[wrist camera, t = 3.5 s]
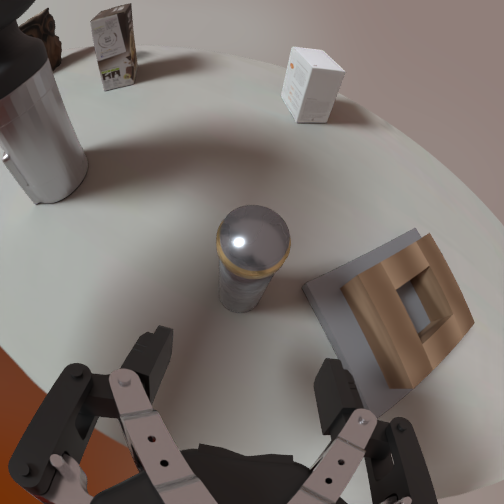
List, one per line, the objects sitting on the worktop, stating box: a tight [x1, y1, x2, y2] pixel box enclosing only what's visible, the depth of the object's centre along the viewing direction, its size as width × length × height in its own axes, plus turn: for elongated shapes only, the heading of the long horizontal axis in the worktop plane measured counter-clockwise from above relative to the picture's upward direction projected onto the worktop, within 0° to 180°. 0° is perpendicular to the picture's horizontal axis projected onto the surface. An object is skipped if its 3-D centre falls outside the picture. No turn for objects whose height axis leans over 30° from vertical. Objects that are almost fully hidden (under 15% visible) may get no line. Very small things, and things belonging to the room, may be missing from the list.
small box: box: [281, 47, 345, 123], centre depth 36 cm, size 8×6×10 cm
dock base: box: [302, 228, 430, 418], centre depth 26 cm, size 18×16×2 cm
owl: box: [19, 8, 62, 71], centre depth 35 cm, size 13×13×20 cm
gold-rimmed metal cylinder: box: [216, 205, 291, 313], centre depth 21 cm, size 4×4×12 cm
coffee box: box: [90, 3, 138, 91], centre depth 34 cm, size 9×6×16 cm
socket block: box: [340, 233, 475, 389], centre depth 24 cm, size 12×12×4 cm
